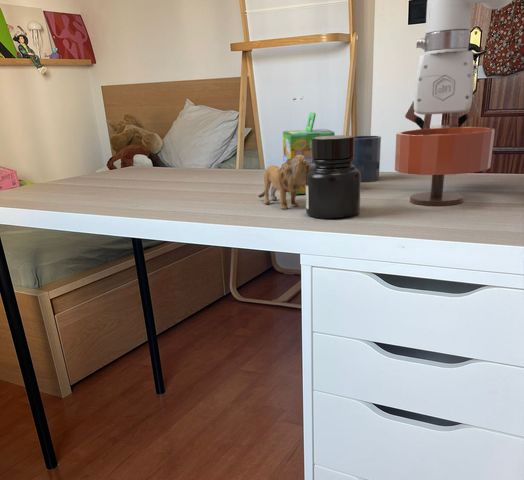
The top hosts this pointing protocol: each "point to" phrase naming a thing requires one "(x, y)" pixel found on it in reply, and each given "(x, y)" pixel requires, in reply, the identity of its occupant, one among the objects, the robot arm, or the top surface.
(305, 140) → the green juice box
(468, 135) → the bowl
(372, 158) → the cup
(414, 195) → the holder post
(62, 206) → the top surface
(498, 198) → the top surface
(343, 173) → the ink bottle
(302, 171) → the lion figurine
